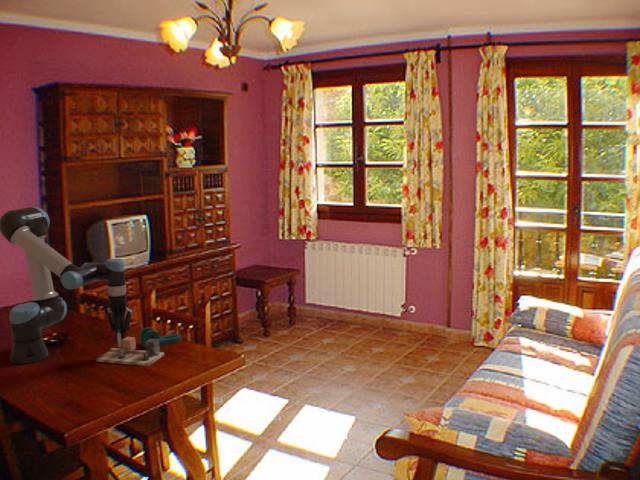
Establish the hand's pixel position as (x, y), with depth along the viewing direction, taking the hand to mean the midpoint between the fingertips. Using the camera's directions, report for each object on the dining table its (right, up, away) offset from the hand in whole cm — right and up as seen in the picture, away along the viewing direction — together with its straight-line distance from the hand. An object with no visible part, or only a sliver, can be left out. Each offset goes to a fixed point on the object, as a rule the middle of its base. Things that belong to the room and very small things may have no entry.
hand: (121, 346), depth 264 cm
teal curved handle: (+14, -1, +15) cm, 20 cm away
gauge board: (+5, -4, -4) cm, 8 cm away
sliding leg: (+3, -3, -3) cm, 5 cm away
